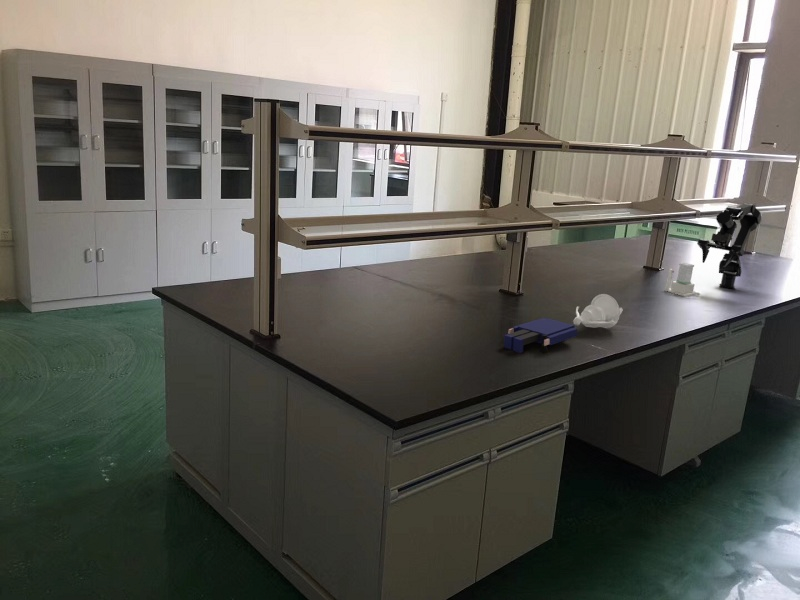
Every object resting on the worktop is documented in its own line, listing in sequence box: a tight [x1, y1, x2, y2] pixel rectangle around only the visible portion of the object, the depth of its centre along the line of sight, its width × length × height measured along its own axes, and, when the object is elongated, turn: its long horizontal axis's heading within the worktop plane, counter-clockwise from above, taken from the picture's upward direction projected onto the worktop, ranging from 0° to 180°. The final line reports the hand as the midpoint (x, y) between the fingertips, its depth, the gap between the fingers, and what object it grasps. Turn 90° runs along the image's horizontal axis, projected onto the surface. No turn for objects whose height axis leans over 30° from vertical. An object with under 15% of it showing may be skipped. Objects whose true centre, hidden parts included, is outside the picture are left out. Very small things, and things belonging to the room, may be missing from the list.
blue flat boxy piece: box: [503, 317, 578, 354], centre depth 211 cm, size 15×6×25 cm
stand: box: [663, 268, 700, 297], centre depth 293 cm, size 10×11×10 cm
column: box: [675, 262, 695, 285], centre depth 293 cm, size 4×4×13 cm
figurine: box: [572, 293, 624, 329], centre depth 229 cm, size 17×12×25 cm
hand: (713, 264), depth 293 cm, fingers open, 9 cm apart
